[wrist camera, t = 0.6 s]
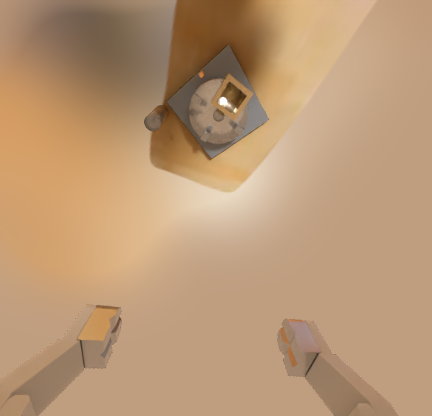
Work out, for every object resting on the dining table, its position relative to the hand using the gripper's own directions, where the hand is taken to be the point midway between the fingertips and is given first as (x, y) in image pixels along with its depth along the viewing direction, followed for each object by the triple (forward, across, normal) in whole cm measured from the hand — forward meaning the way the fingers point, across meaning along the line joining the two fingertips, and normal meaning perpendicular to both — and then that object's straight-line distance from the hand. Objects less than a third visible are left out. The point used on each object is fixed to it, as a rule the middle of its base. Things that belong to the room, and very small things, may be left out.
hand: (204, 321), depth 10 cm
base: (+46, -2, -12) cm, 47 cm away
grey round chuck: (+44, -2, -12) cm, 45 cm away
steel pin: (+47, +12, -9) cm, 49 cm away
